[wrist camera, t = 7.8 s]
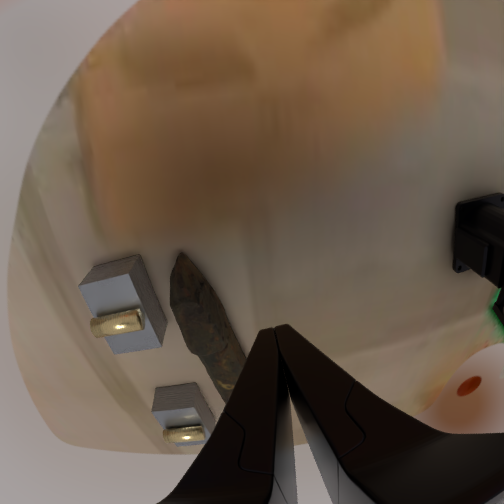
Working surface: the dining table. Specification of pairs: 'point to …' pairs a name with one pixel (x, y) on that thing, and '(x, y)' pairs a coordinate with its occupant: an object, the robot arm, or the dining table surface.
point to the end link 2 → (183, 414)
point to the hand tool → (205, 325)
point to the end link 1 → (124, 306)
